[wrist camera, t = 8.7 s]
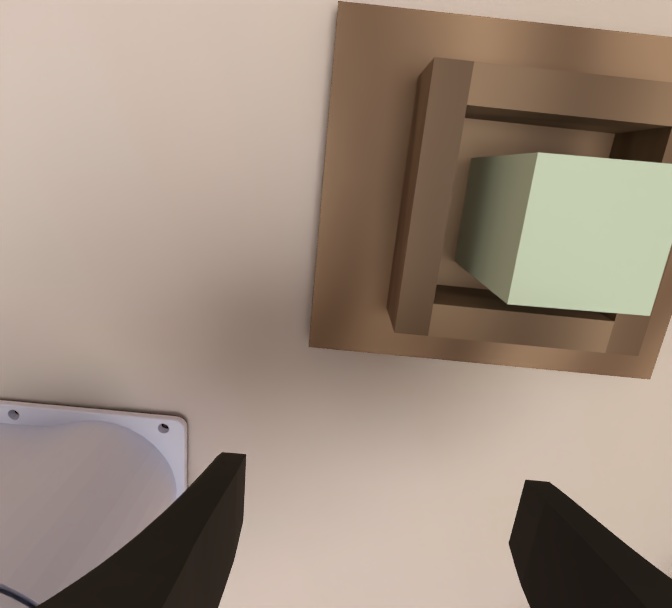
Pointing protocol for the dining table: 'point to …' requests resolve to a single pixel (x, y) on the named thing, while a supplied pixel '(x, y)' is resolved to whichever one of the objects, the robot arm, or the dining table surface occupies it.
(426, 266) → the well stand
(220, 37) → the dining table surface
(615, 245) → the block
